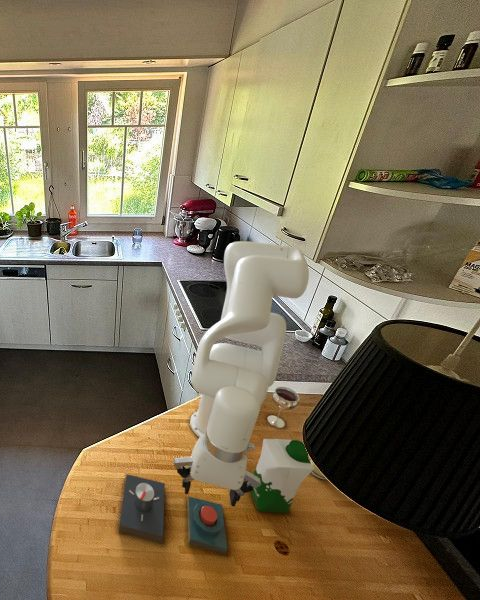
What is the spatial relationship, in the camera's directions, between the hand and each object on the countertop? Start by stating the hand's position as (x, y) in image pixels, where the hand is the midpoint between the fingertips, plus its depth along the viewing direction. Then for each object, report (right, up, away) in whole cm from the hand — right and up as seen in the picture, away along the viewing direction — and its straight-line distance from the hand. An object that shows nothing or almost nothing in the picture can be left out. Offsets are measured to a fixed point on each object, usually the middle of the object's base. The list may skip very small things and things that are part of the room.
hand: (208, 493), depth 72 cm
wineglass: (+35, +4, +33) cm, 49 cm away
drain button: (+1, -8, +4) cm, 9 cm away
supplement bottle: (+38, -5, +18) cm, 42 cm away
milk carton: (+20, -8, +11) cm, 24 cm away
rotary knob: (-13, -7, +7) cm, 17 cm away
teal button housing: (+1, -11, +5) cm, 12 cm away
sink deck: (-13, -9, +9) cm, 18 cm away
